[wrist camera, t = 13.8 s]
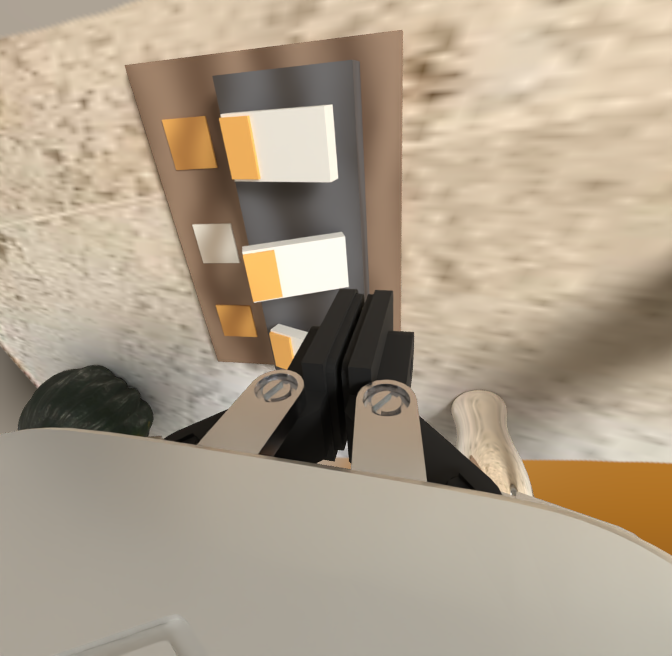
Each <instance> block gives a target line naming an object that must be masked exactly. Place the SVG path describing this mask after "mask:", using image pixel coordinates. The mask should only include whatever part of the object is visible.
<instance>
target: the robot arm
mask: <svg viewBox="0 0 672 656" xmlns="http://www.w3.org/2000/svg"><path fill="white" fill-rule="evenodd" d="M413 355H414V332H403V331H393V291H392V290H375V291H374V294H368V296H367V299H366V301H365V299H364V294H359V293H358V290H357V289H341V288H340V289H339V291H338V293H337V295H336V297H335V299H334V301H333V303H332V304H331V306H330V308H329V310H328V312H327V314H326V316H325V318H324V320H323V322H322V324H321V325H320V326H312V327H311V328H310V330H309V331H308V333H307V335H306V337H305V339H304V340H303V342H302V344H301V346H300V347H299V349H298V351H297V353H296V355H295V356H294V358H293V360H292V362H291V364H290V365H289V367H288V369H287V370H273V371H270V372H267V373H264V374H263V375H261V376H259V377H257V378H256V379H255V380H254V381H253V382H252V383H251V384H250V385H249V386H248V387H247V389H246V390H245V391H244V392H243V393H242V394H241V395H240V396H239V398H238V399H237V400H236V401H235V402H234V403H233V404H232V406H231V407H230V408H229V409H227V410H225V411H223V412H220V413H218V414H216V415H213V416H211V417H209V418H206V419H204V420H202V421H199V422H197V423H195V424H192V425H190V426H188V427H185V428H183V429H181V430H178V431H176V432H174V433H172V434H171V435H169V436H167V437H166V438H165V439H164V440H163V438H162V436H151V437H140V436H133V435H126V434H119V433H112V432H103V431H94V430H85V429H76V428H37V429H25V430H19V431H14V432H8V433H4V434H0V656H672V556H671V555H670V554H668V553H666V552H664V551H662V550H661V549H659V548H657V547H655V546H654V545H652V544H650V543H648V542H645V541H643V540H641V539H640V538H639V537H637V536H636V535H635V534H633V533H631V532H629V531H627V530H625V529H623V528H621V527H618V526H615V525H612V524H610V523H607V522H604V521H601V520H598V519H595V518H592V517H590V516H586V515H584V514H581V513H578V512H575V511H572V510H569V509H566V508H564V507H560V506H558V505H555V504H552V503H549V502H546V501H543V500H540V499H537V498H535V497H532V496H529V495H526V494H523V493H520V492H517V493H516V496H513V495H510V494H507V493H504V492H502V491H500V489H499V487H498V486H497V485H496V484H495V483H494V482H493V480H492V479H491V478H490V477H489V476H487V475H486V474H485V473H484V472H483V471H482V470H481V469H479V468H478V467H477V466H476V465H475V464H474V463H473V462H471V461H470V460H469V459H468V458H467V457H466V456H464V455H463V454H462V453H461V452H460V451H459V450H458V449H456V448H455V447H454V446H453V445H452V444H451V443H450V442H448V441H447V440H446V439H445V438H444V437H443V436H442V435H440V434H439V433H438V432H437V431H436V430H435V429H434V428H432V427H431V426H430V425H429V424H428V423H427V422H426V421H424V420H423V419H422V418H421V417H420V416H419V412H418V404H417V398H416V395H415V393H414V392H413V390H412V389H411V381H412V370H413ZM346 442H348V454H349V462H350V463H351V469H346V468H339V467H333V466H327V465H320V464H317V463H318V462H320V461H322V460H329V461H335V458H336V455H337V451H338V450H342V451H343V450H344V449H345V446H346Z"/></svg>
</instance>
